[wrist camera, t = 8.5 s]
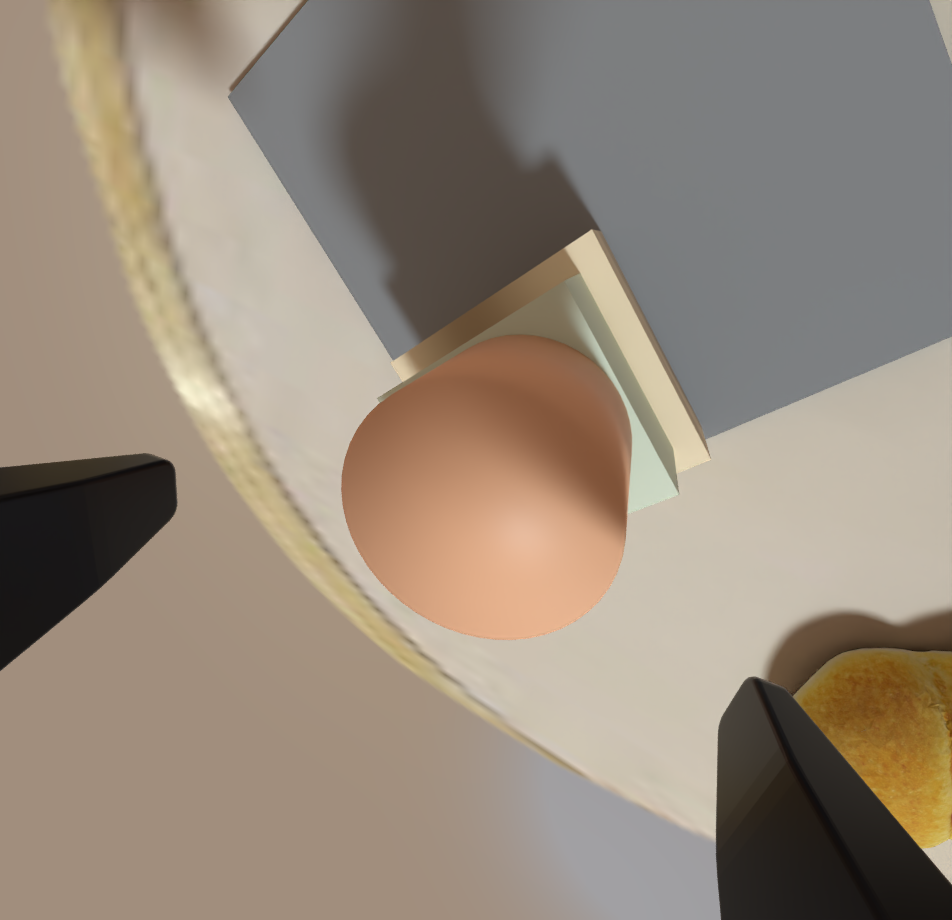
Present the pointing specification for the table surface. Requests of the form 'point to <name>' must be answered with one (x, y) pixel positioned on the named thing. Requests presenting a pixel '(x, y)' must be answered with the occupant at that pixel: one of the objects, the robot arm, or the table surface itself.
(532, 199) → the mat
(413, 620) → the table surface
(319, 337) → the table surface
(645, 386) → the tower base
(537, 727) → the table surface
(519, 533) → the peach gumdrop
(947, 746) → the bread roll
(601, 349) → the tower top
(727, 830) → the robot arm
